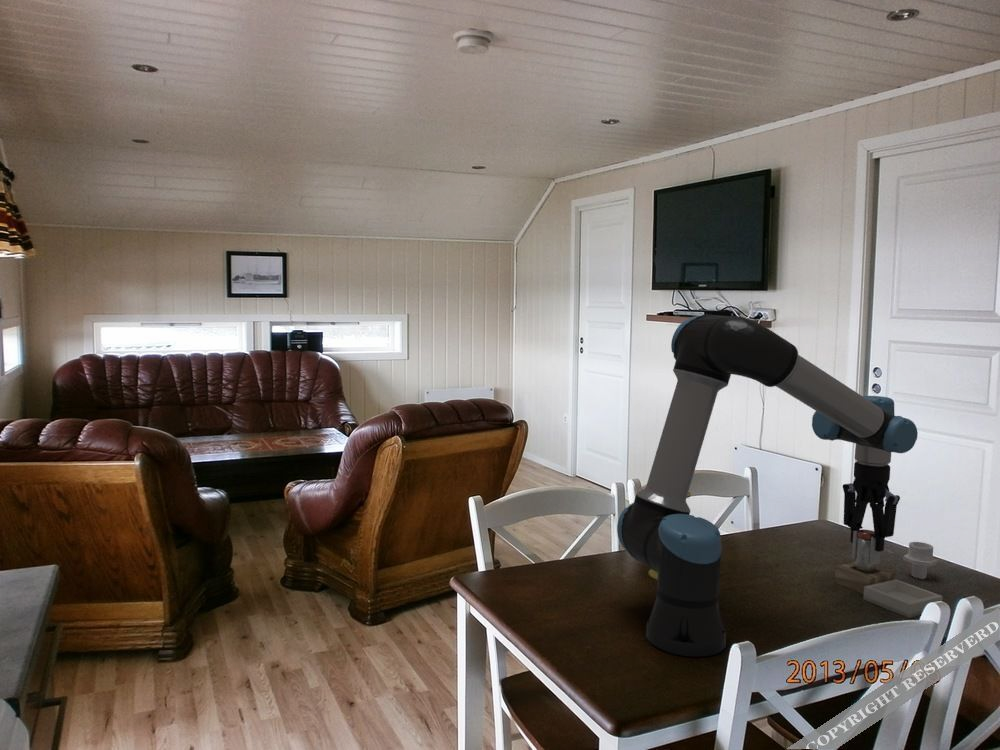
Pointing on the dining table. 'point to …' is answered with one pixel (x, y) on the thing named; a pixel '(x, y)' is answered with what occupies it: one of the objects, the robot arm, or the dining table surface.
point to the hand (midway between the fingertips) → (865, 560)
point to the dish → (900, 597)
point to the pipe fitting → (920, 558)
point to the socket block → (860, 577)
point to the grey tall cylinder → (864, 552)
